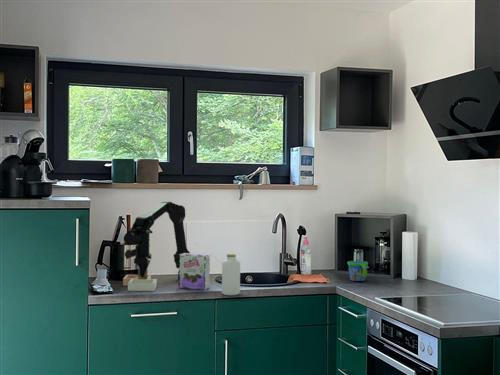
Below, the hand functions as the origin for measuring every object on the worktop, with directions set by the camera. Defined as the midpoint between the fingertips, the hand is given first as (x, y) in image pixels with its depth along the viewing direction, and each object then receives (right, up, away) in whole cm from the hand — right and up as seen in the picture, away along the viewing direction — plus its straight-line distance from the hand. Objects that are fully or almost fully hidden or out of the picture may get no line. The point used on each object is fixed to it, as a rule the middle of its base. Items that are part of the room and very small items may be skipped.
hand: (142, 276), depth 283 cm
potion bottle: (+42, -7, -8) cm, 43 cm away
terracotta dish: (-5, -6, +13) cm, 15 cm away
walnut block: (0, -1, 0) cm, 1 cm away
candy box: (+24, -7, +6) cm, 25 cm away
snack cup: (+107, -8, +34) cm, 112 cm away
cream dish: (0, -6, 0) cm, 6 cm away
